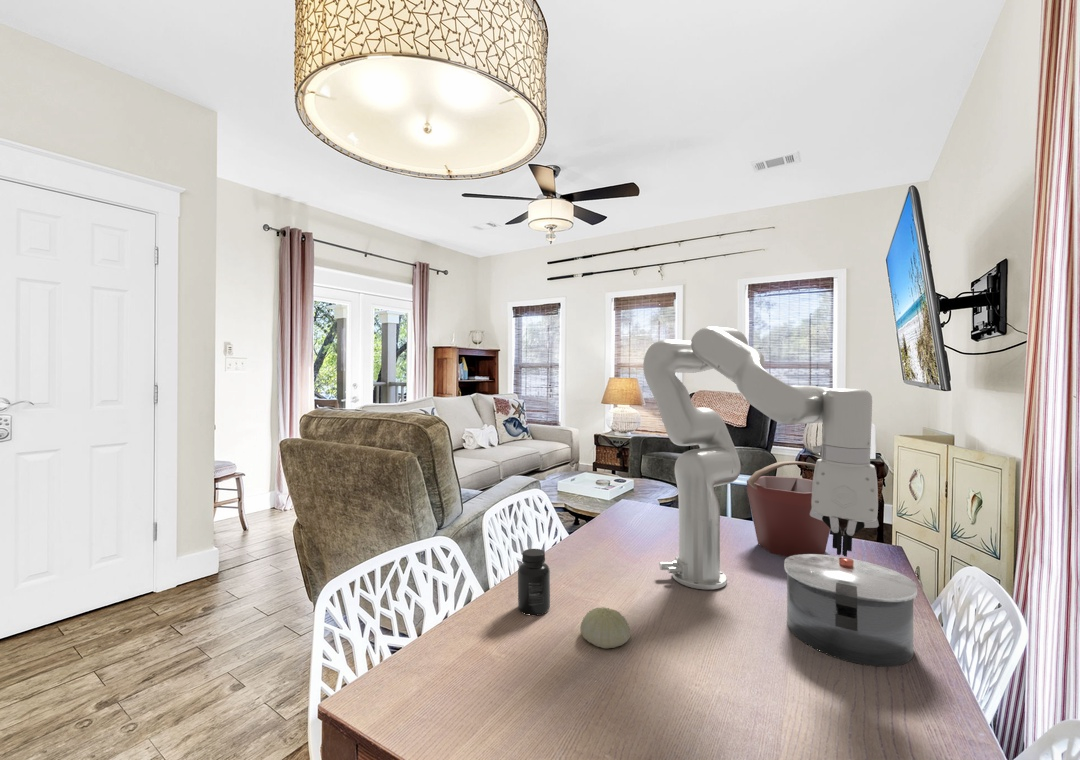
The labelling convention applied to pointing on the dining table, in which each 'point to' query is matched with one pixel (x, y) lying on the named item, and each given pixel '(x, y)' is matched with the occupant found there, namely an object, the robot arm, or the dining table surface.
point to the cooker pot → (851, 626)
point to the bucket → (785, 513)
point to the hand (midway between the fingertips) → (841, 553)
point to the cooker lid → (850, 579)
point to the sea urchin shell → (605, 628)
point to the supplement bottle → (533, 583)
